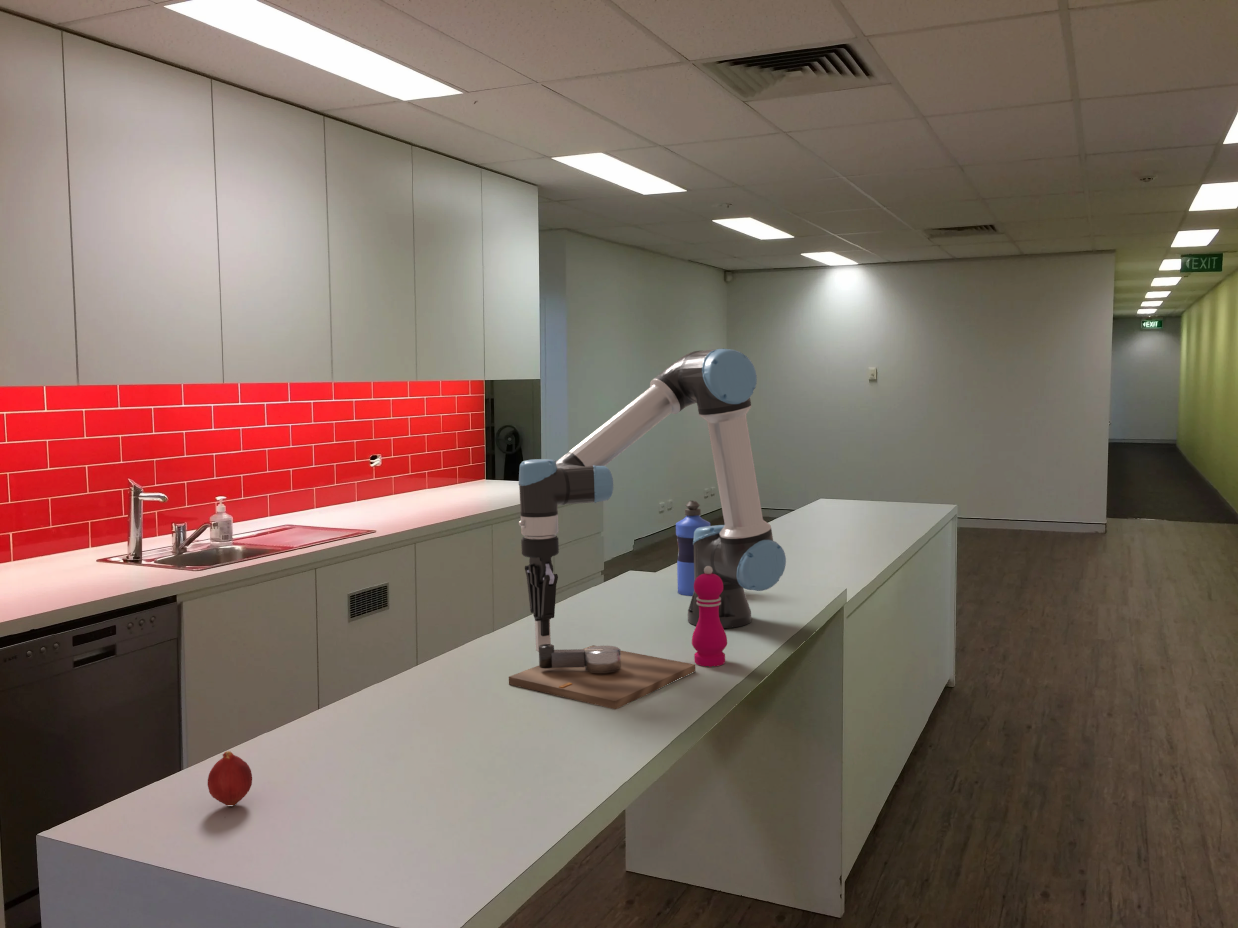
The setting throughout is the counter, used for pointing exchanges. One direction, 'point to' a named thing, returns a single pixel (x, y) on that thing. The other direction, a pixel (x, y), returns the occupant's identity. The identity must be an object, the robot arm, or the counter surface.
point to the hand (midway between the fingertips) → (543, 649)
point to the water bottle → (687, 547)
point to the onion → (229, 779)
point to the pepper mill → (709, 621)
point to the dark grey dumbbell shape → (581, 658)
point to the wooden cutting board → (605, 680)
